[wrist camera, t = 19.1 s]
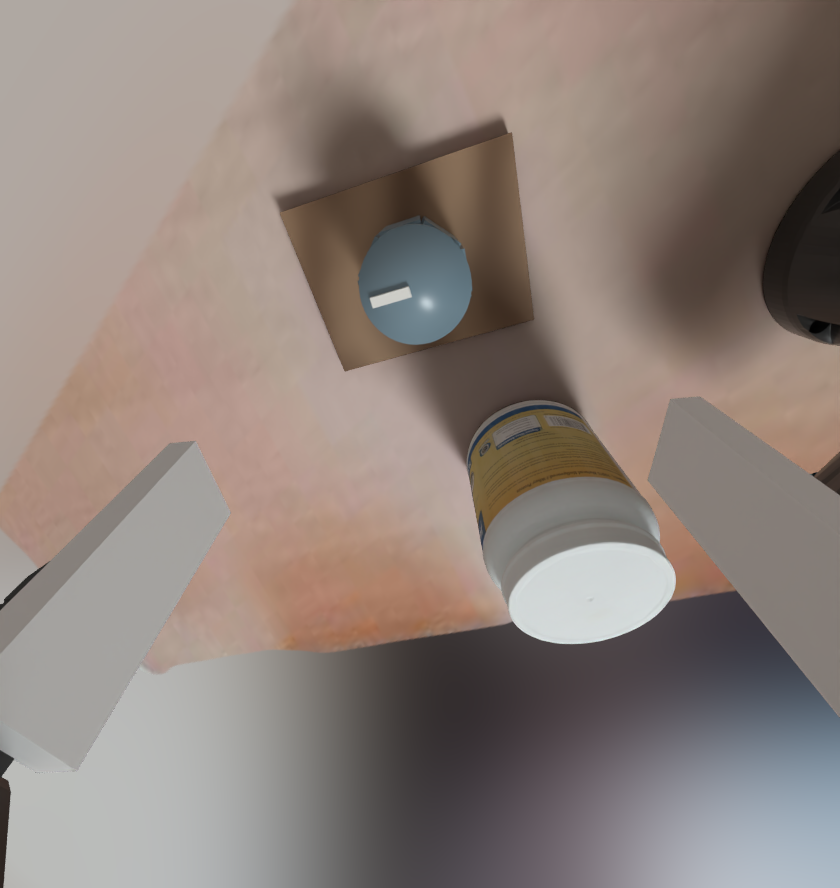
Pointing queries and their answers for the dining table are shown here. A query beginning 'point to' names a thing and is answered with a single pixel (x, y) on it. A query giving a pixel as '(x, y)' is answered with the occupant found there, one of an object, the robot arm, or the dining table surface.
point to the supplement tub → (564, 527)
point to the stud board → (426, 194)
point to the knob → (415, 281)
